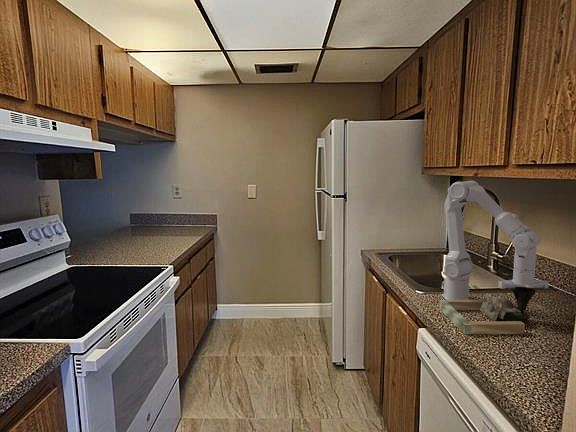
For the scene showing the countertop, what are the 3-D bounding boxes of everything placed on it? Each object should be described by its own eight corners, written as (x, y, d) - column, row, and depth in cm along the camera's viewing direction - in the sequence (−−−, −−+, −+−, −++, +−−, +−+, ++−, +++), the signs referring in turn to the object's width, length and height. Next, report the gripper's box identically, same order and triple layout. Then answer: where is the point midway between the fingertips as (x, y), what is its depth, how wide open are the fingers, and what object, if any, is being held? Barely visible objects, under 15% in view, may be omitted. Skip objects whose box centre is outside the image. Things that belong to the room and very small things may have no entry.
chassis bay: (438, 308, 128) (438, 300, 127) (489, 307, 127) (489, 299, 127) (464, 334, 108) (464, 324, 108) (524, 333, 107) (524, 324, 107)
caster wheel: (529, 331, 114) (505, 331, 111) (501, 310, 124) (478, 310, 122) (537, 312, 112) (513, 312, 109) (508, 293, 122) (485, 292, 120)
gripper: (508, 272, 111) (505, 314, 113) (556, 271, 111) (553, 314, 112) (495, 266, 118) (493, 306, 120) (541, 265, 118) (538, 305, 119)
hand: (521, 309), depth 117 cm, fingers closed
